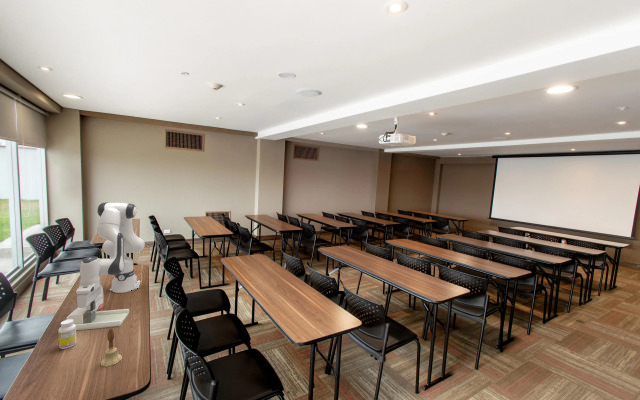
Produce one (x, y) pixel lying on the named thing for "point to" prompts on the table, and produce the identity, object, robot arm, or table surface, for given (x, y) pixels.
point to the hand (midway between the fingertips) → (90, 307)
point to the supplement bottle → (67, 334)
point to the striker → (91, 313)
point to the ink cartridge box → (99, 301)
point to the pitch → (98, 318)
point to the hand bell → (111, 352)
